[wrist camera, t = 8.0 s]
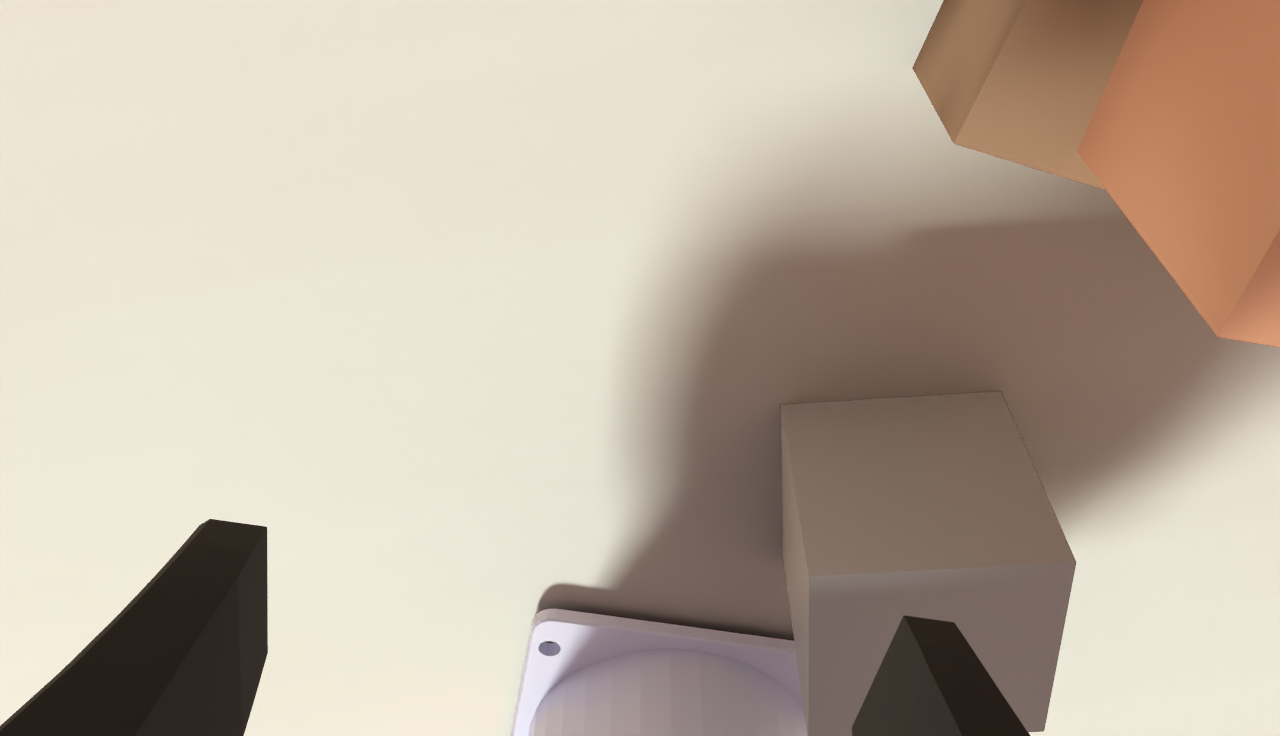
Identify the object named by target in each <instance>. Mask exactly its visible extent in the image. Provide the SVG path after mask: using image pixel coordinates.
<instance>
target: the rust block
mask: <svg viewBox="0 0 1280 736" xmlns="http://www.w3.org/2000/svg"><path fill="white" fill-rule="evenodd" d="M1077 152H1078V154H1079V155H1080V156H1081V158H1082V159H1083V160H1084V162H1085V163H1086V164H1087V166H1088V167H1089V168H1090V170H1091V171H1092V172H1093V174H1094V175H1095V176H1096V177H1097V179H1098V180H1099V181H1100V183H1101V184H1102V185H1103V187H1104V188H1105V189H1106V191H1107V192H1108V193H1109V195H1110V196H1111V197H1112V199H1113V200H1114V201H1115V203H1116V204H1117V205H1118V206H1119V208H1120V209H1121V210H1122V212H1123V213H1124V214H1125V216H1126V217H1127V218H1128V220H1129V221H1130V222H1131V224H1132V225H1133V226H1134V228H1135V229H1136V230H1137V232H1138V233H1139V234H1140V235H1141V237H1142V238H1143V239H1144V241H1145V242H1146V243H1147V245H1148V246H1149V247H1150V249H1151V250H1152V251H1153V253H1154V254H1155V255H1156V257H1157V258H1158V259H1159V261H1160V262H1161V263H1162V264H1163V266H1164V267H1165V268H1166V270H1167V271H1168V272H1169V274H1170V275H1171V276H1172V278H1173V279H1174V280H1175V282H1176V283H1177V284H1178V286H1179V287H1180V288H1181V290H1182V291H1183V292H1184V293H1185V295H1186V296H1187V297H1188V299H1189V300H1190V301H1191V303H1192V304H1193V305H1194V307H1195V308H1196V309H1197V311H1198V312H1199V313H1200V315H1201V316H1202V317H1203V319H1204V320H1205V321H1206V322H1207V324H1208V325H1209V326H1210V328H1211V329H1212V330H1213V332H1214V333H1215V334H1216V336H1217V337H1221V338H1227V339H1233V340H1239V341H1245V342H1251V343H1257V344H1263V345H1269V346H1275V347H1280V0H1143V2H1142V4H1141V7H1140V9H1139V11H1138V13H1137V16H1136V18H1135V20H1134V23H1133V25H1132V27H1131V29H1130V32H1129V34H1128V36H1127V39H1126V41H1125V43H1124V45H1123V48H1122V50H1121V52H1120V55H1119V57H1118V59H1117V61H1116V64H1115V66H1114V68H1113V71H1112V73H1111V75H1110V77H1109V80H1108V82H1107V84H1106V86H1105V89H1104V91H1103V93H1102V96H1101V98H1100V100H1099V102H1098V105H1097V107H1096V109H1095V112H1094V114H1093V116H1092V118H1091V121H1090V123H1089V125H1088V128H1087V130H1086V132H1085V134H1084V137H1083V139H1082V141H1081V144H1080V146H1079V148H1078V150H1077Z"/></svg>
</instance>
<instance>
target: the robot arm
mask: <svg viewBox="0 0 1280 736" xmlns="http://www.w3.org/2000/svg"><path fill="white" fill-rule="evenodd" d="M545 641H553V642H556V643H547V642H545ZM267 653H268V645H267V527H264V526H257V525H249V524H242V523H235V522H228V521H220V520H213V519H209V520H208V521H206V522H204V523H203V524H201V525H200V526H199V527H198V528H197V529H196V530H195V531H194V533H193V534H192V535H191V536H190V537H189V538H188V540H187V541H186V542H185V543H184V544H183V545H182V547H181V548H180V549H179V550H178V551H177V552H176V553H175V554H174V556H173V557H172V558H171V559H170V560H169V561H168V562H167V563H166V565H165V566H164V567H163V568H162V569H161V570H160V571H159V572H158V573H157V574H156V576H155V577H154V578H153V579H152V580H151V581H150V582H149V583H148V584H147V585H146V586H145V587H144V588H143V590H142V591H141V592H140V593H139V594H138V595H137V596H136V597H135V598H134V599H133V600H132V601H131V602H130V603H129V604H128V605H127V606H126V607H125V608H124V610H123V611H122V612H121V613H120V614H119V615H118V616H117V617H116V618H115V619H114V620H113V621H112V622H111V623H110V624H109V625H108V626H107V627H106V628H105V629H104V630H103V631H102V632H101V633H100V634H99V635H98V636H96V637H95V638H94V639H93V640H92V641H91V642H90V643H89V644H88V645H87V646H86V647H85V648H84V649H83V650H82V651H81V652H80V653H79V654H78V655H77V656H76V657H75V658H74V659H73V660H72V661H71V662H70V663H69V664H68V665H67V666H66V667H65V668H64V669H63V670H62V671H61V672H60V673H59V674H58V675H56V676H55V677H54V678H53V679H52V680H51V681H50V682H49V683H48V684H47V685H45V686H44V687H43V688H42V689H41V690H40V691H39V692H38V693H37V694H35V695H34V696H33V697H32V698H31V699H30V700H29V701H28V702H26V703H25V704H24V705H23V706H22V707H21V708H20V709H19V710H18V711H16V712H15V713H14V714H13V715H12V716H11V717H10V718H9V719H8V720H6V721H5V722H4V723H3V724H2V725H1V726H0V736H243V735H244V732H245V729H246V725H247V722H248V719H249V715H250V712H251V709H252V705H253V702H254V699H255V695H256V692H257V688H258V685H259V681H260V678H261V674H262V670H263V667H264V663H265V660H266V656H267ZM511 736H807V729H806V722H805V714H804V707H803V700H802V693H801V686H800V678H799V671H798V664H797V657H796V650H795V643H794V641H792V640H785V639H778V638H770V637H763V636H755V635H748V634H741V633H733V632H726V631H718V630H711V629H704V628H696V627H689V626H681V625H674V624H667V623H659V622H652V621H645V620H637V619H630V618H622V617H615V616H608V615H600V614H593V613H585V612H578V611H571V610H563V609H546V610H542V611H540V612H539V613H537V614H536V615H535V617H534V619H533V621H532V626H531V632H530V637H529V642H528V647H527V653H526V658H525V663H524V668H523V674H522V679H521V684H520V689H519V695H518V700H517V705H516V710H515V715H514V721H513V726H512V731H511ZM852 736H1030V735H1029V733H1028V732H1027V730H1026V729H1025V727H1024V726H1023V724H1022V723H1021V721H1020V720H1019V718H1018V717H1017V715H1016V714H1015V712H1014V711H1013V709H1012V708H1011V706H1010V705H1009V703H1008V702H1007V700H1006V699H1005V697H1004V696H1003V694H1002V693H1001V691H1000V690H999V688H998V687H997V685H996V684H995V682H994V681H993V679H992V678H991V676H990V675H989V673H988V672H987V670H986V669H985V667H984V666H983V664H982V663H981V661H980V660H979V658H978V657H977V655H976V654H975V652H974V651H973V649H972V648H971V646H970V645H969V643H968V642H967V640H966V639H965V637H964V636H963V634H962V633H961V631H960V630H959V628H958V627H957V625H956V624H955V622H948V621H941V620H934V619H927V618H920V617H912V616H905V615H903V618H902V620H901V622H900V624H899V626H898V628H897V631H896V633H895V635H894V637H893V639H892V641H891V644H890V646H889V648H888V650H887V652H886V654H885V657H884V659H883V661H882V663H881V665H880V667H879V670H878V672H877V674H876V676H875V678H874V680H873V683H872V685H871V687H870V689H869V691H868V693H867V696H866V698H865V700H864V702H863V704H862V706H861V709H860V711H859V713H858V715H857V717H856V719H855V722H854V724H853V726H852Z"/></svg>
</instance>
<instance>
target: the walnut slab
mask: <svg viewBox="0 0 1280 736" xmlns="http://www.w3.org/2000/svg"><path fill="white" fill-rule="evenodd" d="M1142 2H1143V0H944V1H943V3H942V5H941V8H940V10H939V12H938V14H937V16H936V18H935V21H934V23H933V25H932V27H931V29H930V31H929V34H928V36H927V38H926V40H925V42H924V44H923V46H922V49H921V51H920V53H919V55H918V57H917V59H916V62H915V64H914V66H913V70H914V72H915V73H916V75H917V77H918V79H919V81H920V83H921V84H922V86H923V88H924V90H925V92H926V94H927V95H928V97H929V99H930V101H931V103H932V105H933V106H934V108H935V110H936V112H937V114H938V116H939V117H940V119H941V121H942V123H943V125H944V126H945V128H946V130H947V132H948V134H949V136H950V137H951V139H952V141H953V143H954V144H957V145H960V146H964V147H967V148H970V149H973V150H976V151H980V152H983V153H986V154H989V155H993V156H996V157H999V158H1002V159H1006V160H1009V161H1012V162H1015V163H1019V164H1022V165H1025V166H1028V167H1032V168H1035V169H1038V170H1041V171H1044V172H1048V173H1051V174H1054V175H1057V176H1061V177H1064V178H1067V179H1070V180H1074V181H1077V182H1080V183H1083V184H1087V185H1090V186H1093V187H1096V188H1099V189H1103V190H1106V189H1105V188H1104V187H1103V185H1102V184H1101V183H1100V181H1099V180H1098V179H1097V177H1096V176H1095V175H1094V174H1093V172H1092V171H1091V170H1090V168H1089V167H1088V166H1087V164H1086V163H1085V162H1084V160H1083V159H1082V158H1081V156H1080V155H1079V154H1078V152H1077V150H1078V148H1079V146H1080V144H1081V141H1082V139H1083V137H1084V134H1085V132H1086V130H1087V128H1088V125H1089V123H1090V121H1091V118H1092V116H1093V114H1094V112H1095V109H1096V107H1097V105H1098V102H1099V100H1100V98H1101V96H1102V93H1103V91H1104V89H1105V86H1106V84H1107V82H1108V80H1109V77H1110V75H1111V73H1112V71H1113V68H1114V66H1115V64H1116V61H1117V59H1118V57H1119V55H1120V52H1121V50H1122V48H1123V45H1124V43H1125V41H1126V39H1127V36H1128V34H1129V32H1130V29H1131V27H1132V25H1133V23H1134V20H1135V18H1136V16H1137V13H1138V11H1139V9H1140V7H1141V4H1142Z"/></svg>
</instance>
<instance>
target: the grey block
mask: <svg viewBox="0 0 1280 736" xmlns="http://www.w3.org/2000/svg"><path fill="white" fill-rule="evenodd" d="M781 447H782V516H783V563H784V571H785V578H786V585H787V592H788V599H789V607H790V614H791V621H792V628H793V635H794V643H795V650H796V657H797V664H798V671H799V678H800V686H801V693H802V700H803V707H804V714H805V722H806V729H807V736H852V726H853V724H854V722H855V719H856V717H857V715H858V713H859V711H860V709H861V706H862V704H863V702H864V700H865V698H866V696H867V693H868V691H869V689H870V687H871V685H872V683H873V680H874V678H875V676H876V674H877V672H878V670H879V667H880V665H881V663H882V661H883V659H884V657H885V654H886V652H887V650H888V648H889V646H890V644H891V641H892V639H893V637H894V635H895V633H896V631H897V628H898V626H899V624H900V622H901V620H902V618H903V615H905V616H912V617H920V618H927V619H934V620H941V621H948V622H955V624H956V625H957V627H958V628H959V630H960V631H961V633H962V634H963V636H964V637H965V639H966V640H967V642H968V643H969V645H970V646H971V648H972V649H973V651H974V652H975V654H976V655H977V657H978V658H979V660H980V661H981V663H982V664H983V666H984V667H985V669H986V670H987V672H988V673H989V675H990V676H991V678H992V679H993V681H994V682H995V684H996V685H997V687H998V688H999V690H1000V691H1001V693H1002V694H1003V696H1004V697H1005V699H1006V700H1007V702H1008V703H1009V705H1010V706H1011V708H1012V709H1013V711H1014V712H1015V714H1016V715H1017V717H1018V718H1019V720H1020V721H1021V723H1022V724H1023V726H1024V727H1025V729H1026V730H1027V732H1040V731H1044V729H1045V723H1046V718H1047V713H1048V708H1049V702H1050V697H1051V692H1052V687H1053V681H1054V676H1055V671H1056V666H1057V660H1058V655H1059V650H1060V645H1061V639H1062V634H1063V629H1064V624H1065V618H1066V613H1067V608H1068V603H1069V597H1070V592H1071V587H1072V582H1073V576H1074V571H1075V566H1076V561H1075V558H1074V556H1073V554H1072V551H1071V549H1070V547H1069V545H1068V542H1067V540H1066V538H1065V536H1064V533H1063V531H1062V529H1061V526H1060V524H1059V522H1058V520H1057V517H1056V515H1055V513H1054V511H1053V508H1052V506H1051V504H1050V501H1049V499H1048V497H1047V495H1046V492H1045V490H1044V488H1043V486H1042V483H1041V481H1040V479H1039V476H1038V474H1037V472H1036V470H1035V467H1034V465H1033V463H1032V461H1031V458H1030V456H1029V454H1028V451H1027V449H1026V447H1025V445H1024V442H1023V440H1022V438H1021V436H1020V433H1019V431H1018V429H1017V426H1016V424H1015V422H1014V420H1013V417H1012V415H1011V413H1010V411H1009V408H1008V406H1007V404H1006V401H1005V399H1004V397H1003V395H1002V392H1001V391H991V392H975V393H959V394H943V395H927V396H910V397H894V398H878V399H862V400H846V401H830V402H813V403H797V404H781Z"/></svg>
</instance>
